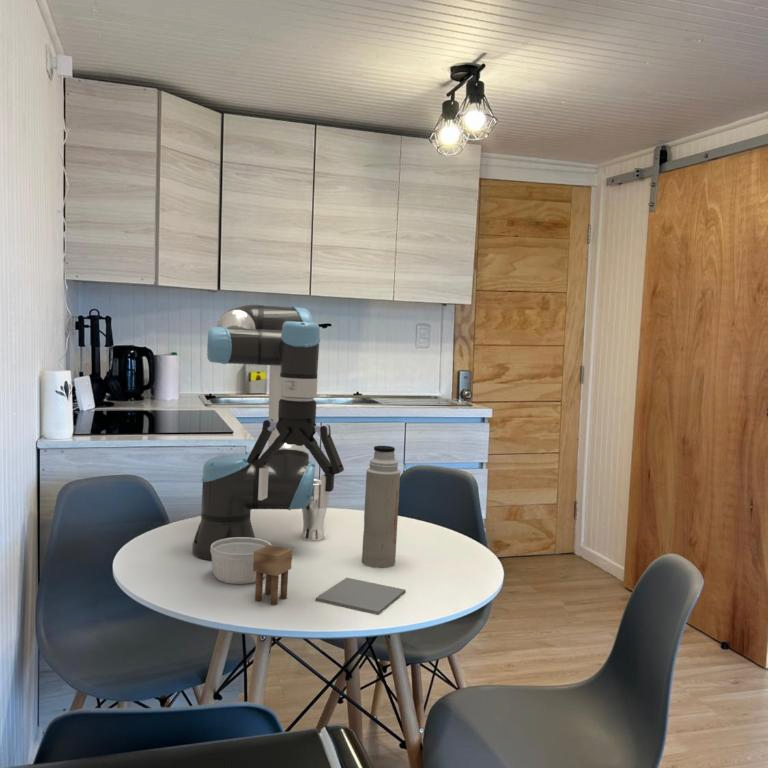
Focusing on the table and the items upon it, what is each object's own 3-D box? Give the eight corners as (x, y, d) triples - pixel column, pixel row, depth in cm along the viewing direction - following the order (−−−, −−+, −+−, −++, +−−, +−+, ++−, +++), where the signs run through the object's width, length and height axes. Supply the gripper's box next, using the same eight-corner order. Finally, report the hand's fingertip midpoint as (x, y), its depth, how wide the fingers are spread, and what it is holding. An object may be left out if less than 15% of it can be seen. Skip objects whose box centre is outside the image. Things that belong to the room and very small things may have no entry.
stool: (251, 600, 143) (253, 551, 142) (267, 592, 148) (269, 544, 147) (275, 606, 141) (277, 556, 140) (289, 597, 146) (292, 549, 145)
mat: (315, 600, 145) (315, 597, 145) (346, 580, 158) (346, 577, 158) (378, 614, 139) (378, 611, 139) (405, 592, 152) (405, 589, 152)
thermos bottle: (397, 559, 174) (404, 445, 172) (391, 569, 166) (398, 450, 164) (366, 555, 176) (372, 442, 174) (358, 565, 168) (364, 447, 166)
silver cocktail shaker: (331, 537, 189) (334, 481, 188) (315, 543, 184) (317, 485, 182) (310, 532, 193) (313, 477, 192) (294, 538, 187) (296, 481, 186)
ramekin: (238, 562, 166) (239, 533, 165) (283, 574, 159) (284, 544, 159) (196, 577, 154) (197, 546, 154) (242, 591, 148) (244, 558, 147)
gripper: (233, 395, 144) (228, 499, 145) (349, 405, 136) (344, 514, 138) (250, 392, 151) (246, 492, 152) (362, 402, 143) (357, 506, 145)
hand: (293, 503), depth 145 cm, fingers open, 13 cm apart
